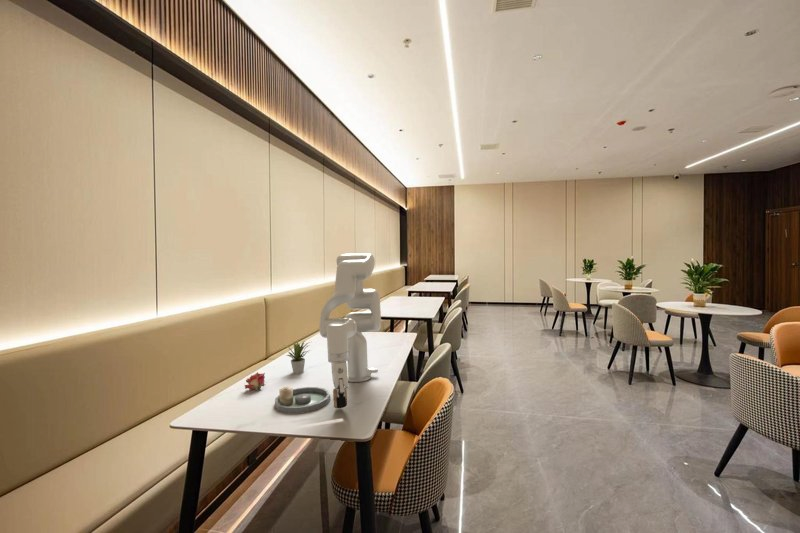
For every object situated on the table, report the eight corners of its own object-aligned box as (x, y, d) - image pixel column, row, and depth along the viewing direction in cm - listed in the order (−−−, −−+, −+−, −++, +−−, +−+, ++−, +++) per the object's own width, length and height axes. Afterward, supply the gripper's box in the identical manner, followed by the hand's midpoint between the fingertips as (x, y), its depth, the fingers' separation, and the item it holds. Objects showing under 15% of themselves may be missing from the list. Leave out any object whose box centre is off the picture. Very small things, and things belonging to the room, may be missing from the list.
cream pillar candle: (293, 400, 144) (292, 385, 144) (293, 405, 139) (292, 390, 139) (280, 402, 142) (279, 387, 142) (279, 407, 138) (279, 392, 137)
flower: (274, 384, 161) (267, 368, 164) (260, 387, 153) (253, 370, 155) (258, 395, 163) (252, 379, 166) (243, 399, 155) (237, 382, 157)
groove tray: (327, 391, 156) (327, 384, 156) (332, 410, 135) (332, 402, 135) (276, 398, 150) (276, 391, 150) (273, 419, 130) (273, 411, 129)
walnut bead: (346, 401, 137) (345, 386, 136) (348, 407, 132) (347, 391, 131) (333, 403, 135) (332, 388, 135) (334, 409, 130) (333, 393, 130)
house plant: (320, 369, 186) (319, 338, 185) (300, 378, 174) (298, 344, 174) (301, 366, 193) (300, 336, 193) (280, 373, 182) (279, 341, 181)
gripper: (351, 361, 125) (354, 412, 126) (345, 348, 142) (347, 393, 143) (330, 364, 123) (332, 415, 124) (325, 351, 140) (328, 396, 141)
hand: (340, 403), depth 133 cm, fingers closed on walnut bead, 4 cm apart
